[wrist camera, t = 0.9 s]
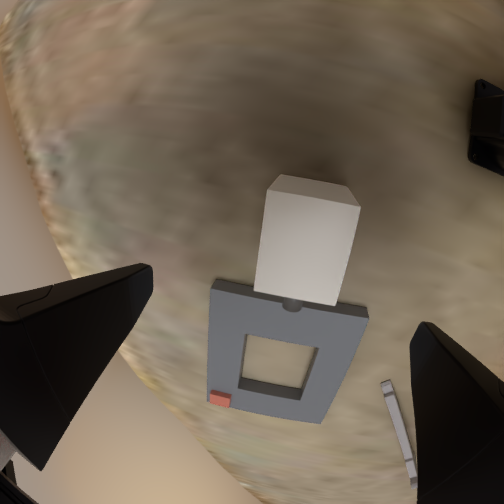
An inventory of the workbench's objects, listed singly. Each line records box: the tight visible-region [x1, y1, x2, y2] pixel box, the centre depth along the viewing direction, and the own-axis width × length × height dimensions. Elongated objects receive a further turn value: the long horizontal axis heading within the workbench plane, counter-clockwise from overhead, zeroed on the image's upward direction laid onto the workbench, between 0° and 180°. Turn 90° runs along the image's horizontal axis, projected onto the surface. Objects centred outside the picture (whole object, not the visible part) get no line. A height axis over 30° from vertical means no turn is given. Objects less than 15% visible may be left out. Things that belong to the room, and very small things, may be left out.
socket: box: [207, 279, 369, 424], centre depth 24 cm, size 12×14×2 cm
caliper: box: [381, 380, 417, 489], centre depth 24 cm, size 20×1×6 cm, turn 31°
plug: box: [254, 174, 361, 312], centre depth 17 cm, size 4×7×6 cm, turn 173°
